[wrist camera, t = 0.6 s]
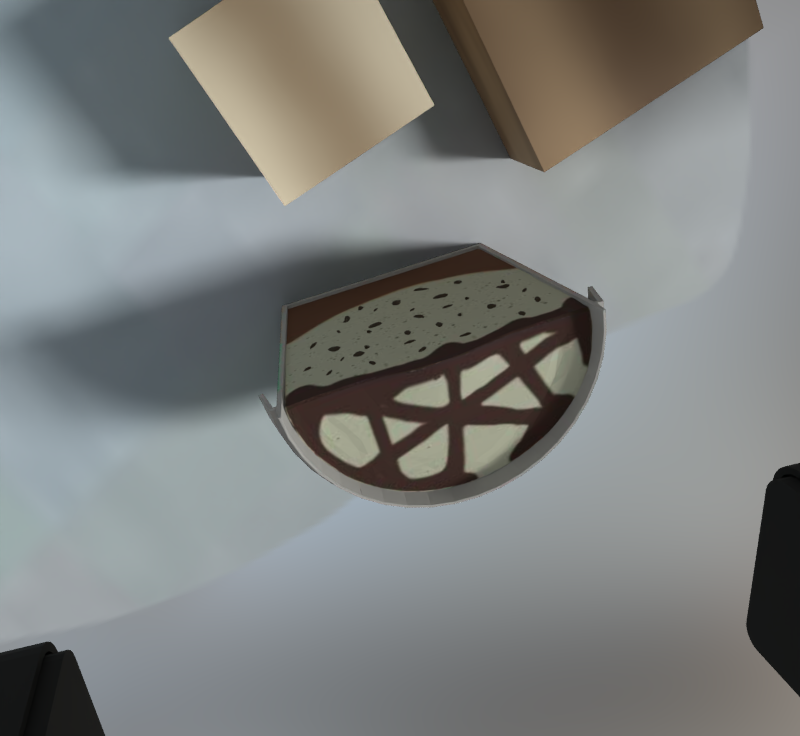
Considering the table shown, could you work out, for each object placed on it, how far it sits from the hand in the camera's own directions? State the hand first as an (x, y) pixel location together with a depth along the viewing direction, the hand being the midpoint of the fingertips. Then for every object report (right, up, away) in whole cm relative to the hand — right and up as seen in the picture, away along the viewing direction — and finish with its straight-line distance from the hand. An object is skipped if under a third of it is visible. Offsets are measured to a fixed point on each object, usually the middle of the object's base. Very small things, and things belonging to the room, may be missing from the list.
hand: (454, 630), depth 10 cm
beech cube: (-5, +15, +19) cm, 25 cm away
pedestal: (+6, +19, +20) cm, 28 cm away
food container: (-1, +5, +24) cm, 25 cm away
